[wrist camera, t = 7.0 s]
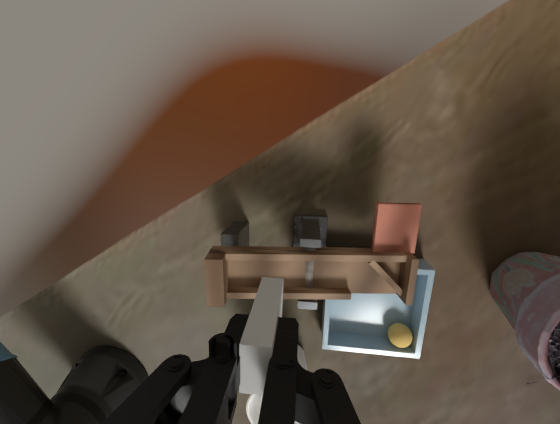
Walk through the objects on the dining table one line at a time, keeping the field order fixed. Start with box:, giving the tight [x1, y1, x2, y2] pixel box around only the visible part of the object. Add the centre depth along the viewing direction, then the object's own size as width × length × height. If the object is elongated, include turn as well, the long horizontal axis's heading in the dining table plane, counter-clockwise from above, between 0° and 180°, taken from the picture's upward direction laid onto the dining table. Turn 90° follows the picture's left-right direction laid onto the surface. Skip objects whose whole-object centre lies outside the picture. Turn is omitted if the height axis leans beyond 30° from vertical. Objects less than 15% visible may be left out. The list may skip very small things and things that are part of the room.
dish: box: [321, 258, 435, 359], centre depth 41 cm, size 15×15×4 cm
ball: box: [388, 323, 412, 348], centre depth 41 cm, size 4×4×4 cm
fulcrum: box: [293, 214, 328, 310], centre depth 37 cm, size 5×10×10 cm, turn 179°
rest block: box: [221, 221, 249, 246], centre depth 40 cm, size 2×6×6 cm, turn 179°
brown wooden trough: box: [204, 203, 422, 307], centre depth 31 cm, size 24×12×4 cm, turn 89°
